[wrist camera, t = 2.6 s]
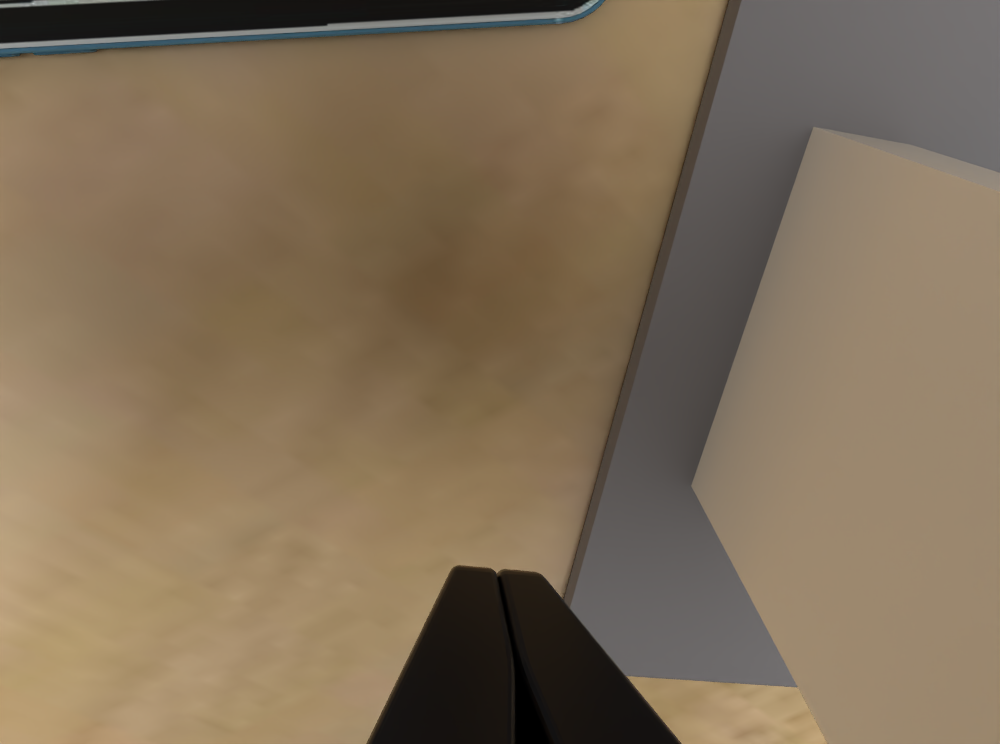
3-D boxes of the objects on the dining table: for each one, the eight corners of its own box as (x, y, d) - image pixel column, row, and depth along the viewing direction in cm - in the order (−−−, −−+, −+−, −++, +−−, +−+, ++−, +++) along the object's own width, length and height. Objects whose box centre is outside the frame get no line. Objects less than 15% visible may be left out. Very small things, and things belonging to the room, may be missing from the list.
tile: (778, 495, 18) (1065, 908, 10) (691, 486, 18) (913, 905, 9) (919, 145, 14) (1532, 338, 6) (813, 126, 14) (1318, 303, 6)
